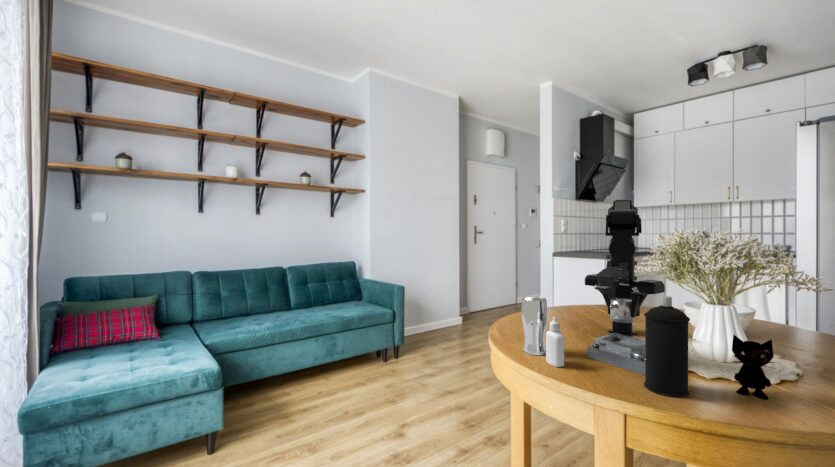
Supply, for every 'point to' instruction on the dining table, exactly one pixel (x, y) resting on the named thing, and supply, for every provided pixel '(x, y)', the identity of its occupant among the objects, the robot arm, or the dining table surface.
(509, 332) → the dining table surface
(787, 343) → the dining table surface
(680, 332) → the aerosol can
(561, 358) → the eye dropper bottle
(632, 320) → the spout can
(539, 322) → the beer glass
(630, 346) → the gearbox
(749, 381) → the cat figurine
